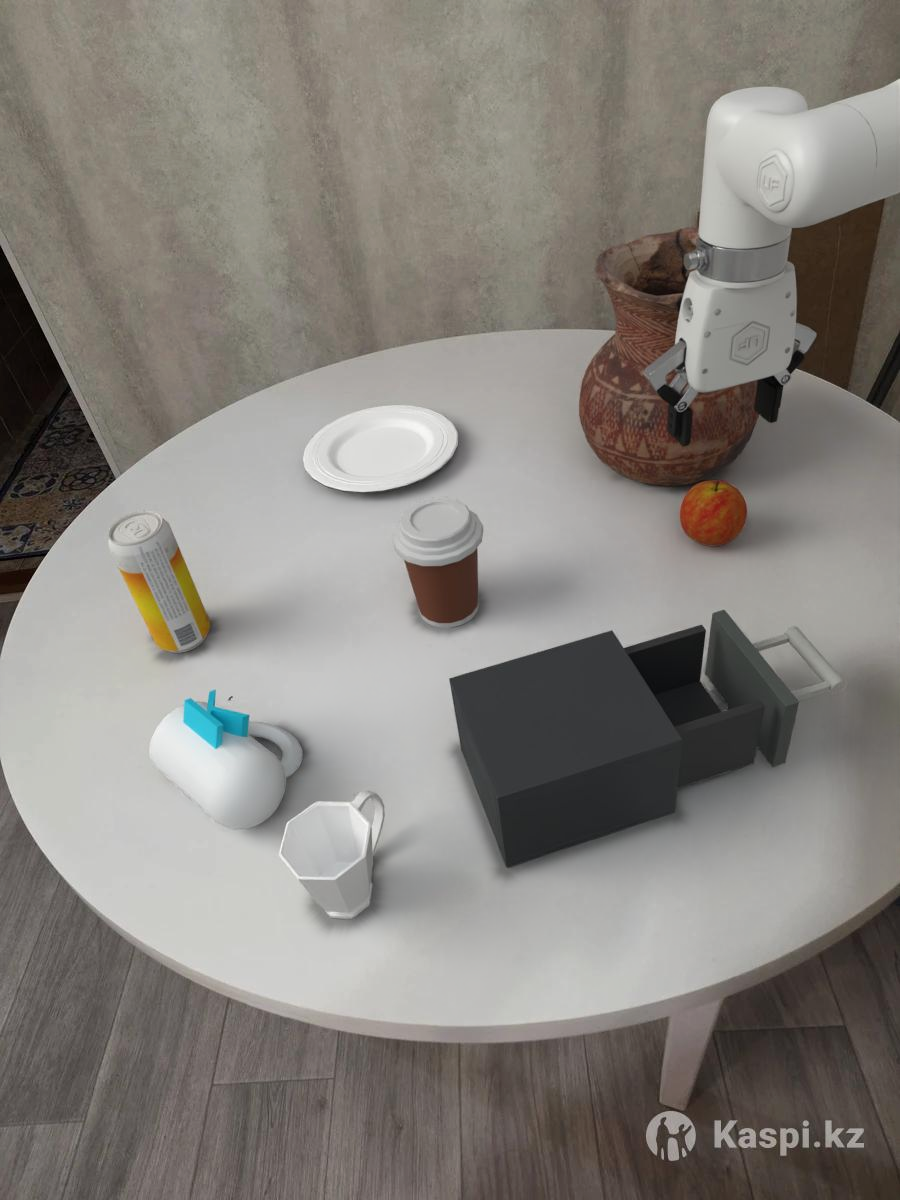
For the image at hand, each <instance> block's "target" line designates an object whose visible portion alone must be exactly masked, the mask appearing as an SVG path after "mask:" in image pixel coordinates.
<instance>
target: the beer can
mask: <svg viewBox="0 0 900 1200" xmlns="http://www.w3.org/2000/svg"><path fill="white" fill-rule="evenodd" d="M107 537H108V542H107V543H108V544H107V548H108V549H109V551H110V554H111V556H112V557H113V559H114V562H115V564H116V567H117V568H118V570H119V572H120V574H121V576H122V578H123V581H124V582H125V585H126V586H127V588H128V590H129V592H130V595H131V596H132V598H133V601H134V602H135V603H134V604H135V605H136V607H137V609H138V611H139V613H140V614H141V617H142V619H143V621H144V623H145V625H146V627H147V629H148V631H149V633H150V635H151V637H152V639H153V641H154V644H155V645H156V646H157V648H159V649H161V650H164V651H167V652H169V653H173V654H181V653H185V652H189V651H192V650H194V649H196V648H197V647H199V646H200V645H201V644H202V643H203V642H204V641H205V639H206V638H207V636H208V633H209V632H210V629H211V620H210V618H209V616H208V613H207V611H206V609H205V606H204V603H203V602H202V599H201V597H200V594H199V591H198V590H197V586H196V584H195V582H194V580H193V577H192V575H191V573H190V570H189V568H188V565H187V562H186V560H185V558H184V556H183V554H182V551H181V549H180V547H179V544H178V542H177V539H176V537H175V534H174V532H173V529H172V527H171V525H170V523H169V522H168V521H167V520H166V519H165V518H163V517H162V515H161V514H160V513H158V512H156V511H153V510H139V511H134V512H131V513H128V514H125V515H124V516H122V517H120V518H118V519H117V520H116V521H114V522H113V524H112V525H111V526H110V527H109V529H108V531H107Z"/></svg>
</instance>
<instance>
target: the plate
mask: <svg viewBox="0 0 900 1200" xmlns="http://www.w3.org/2000/svg"><path fill="white" fill-rule="evenodd" d="M458 447H459V433H458V430H457V428H456V426H455V424H454V423H453V422H452V421H450V420H449V419H448V417H446V416H445V415H444V414H441V413H439V412H436V411H435V410H432V409H431V408H426V407H422V406H421V407H420V406H417V405H407V404H406V405H405V404H391V405H390V404H389V405H382V406H381V405H379V406H373V407H369V408H364V409H360V410H357V411H354V412H351V413H348V414H346V415H343V416H340V417H339V418H337V419H335V420H333V421H332V422H329V423H328V424H326V425H325V426H324V427H322V428H321V429H320V430H318V431H317V433H315V434H314V435H313V436H312V438H311V439H310V440H309V442H308V443H307V445H306V446H305V448H304V451H303V456H302V461H303V466H304V469H305V471H306V472H307V474H308V475H309V476H310V478H311V479H312V480H314V481H315V482H317V483H318V484H321V485H322V486H324V487H326V488H328V489H332V490H336V491H339V492H343V493H355V494H373V493H384V492H385V493H386V492H391V491H394V490H398V489H402V488H406V487H409V486H411V485H414V484H416V483H418V482H421V481H424V480H426V479H427V478H429V477H431V476H432V475H434V474H435V473H437V472H438V471H440V470H441V469H443V467H445V465H447V463H448V462H450V460H452V459H453V457H454V454H455V453H456V451H457V449H458Z"/></svg>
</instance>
